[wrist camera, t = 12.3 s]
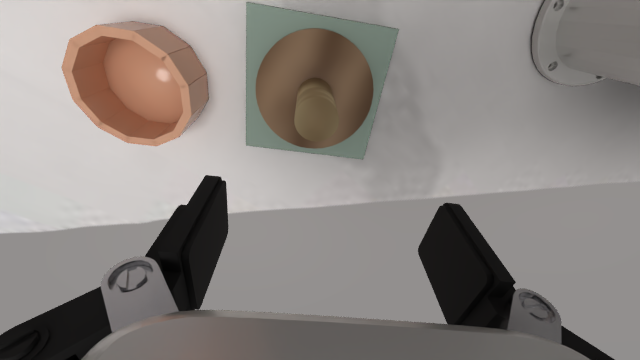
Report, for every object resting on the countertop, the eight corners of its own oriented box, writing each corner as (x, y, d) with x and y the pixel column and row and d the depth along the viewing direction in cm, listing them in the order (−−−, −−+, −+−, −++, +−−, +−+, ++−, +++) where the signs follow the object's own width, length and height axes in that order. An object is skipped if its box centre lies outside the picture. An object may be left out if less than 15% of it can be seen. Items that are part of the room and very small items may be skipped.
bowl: (203, 32, 25) (182, 38, 21) (210, 130, 31) (195, 150, 26) (89, 14, 24) (43, 16, 20) (117, 119, 29) (86, 138, 25)
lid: (386, 39, 25) (412, 52, 19) (357, 151, 32) (369, 189, 25) (258, 17, 24) (239, 23, 18) (255, 138, 31) (241, 175, 24)
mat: (397, 28, 26) (398, 29, 25) (362, 157, 33) (363, 159, 33) (247, 2, 24) (246, 2, 23) (247, 143, 32) (246, 145, 31)
